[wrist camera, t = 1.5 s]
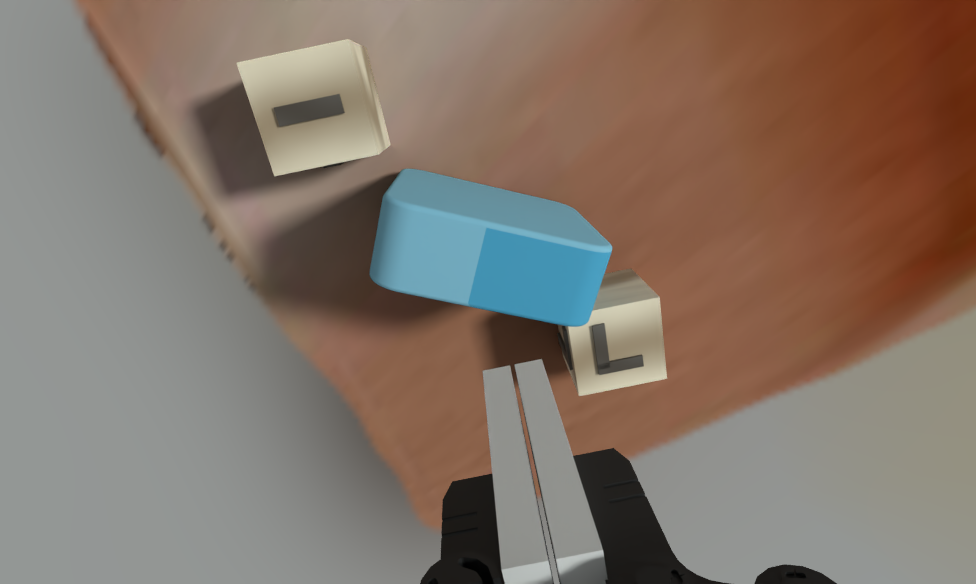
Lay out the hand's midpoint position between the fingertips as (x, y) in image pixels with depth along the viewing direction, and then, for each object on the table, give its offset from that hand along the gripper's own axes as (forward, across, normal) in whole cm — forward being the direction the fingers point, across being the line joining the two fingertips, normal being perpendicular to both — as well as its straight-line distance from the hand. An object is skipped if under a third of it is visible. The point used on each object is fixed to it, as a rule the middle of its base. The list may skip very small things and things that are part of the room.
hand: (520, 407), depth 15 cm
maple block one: (+24, -8, +9) cm, 27 cm away
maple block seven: (+25, +7, -9) cm, 27 cm away
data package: (+25, 0, 0) cm, 25 cm away
